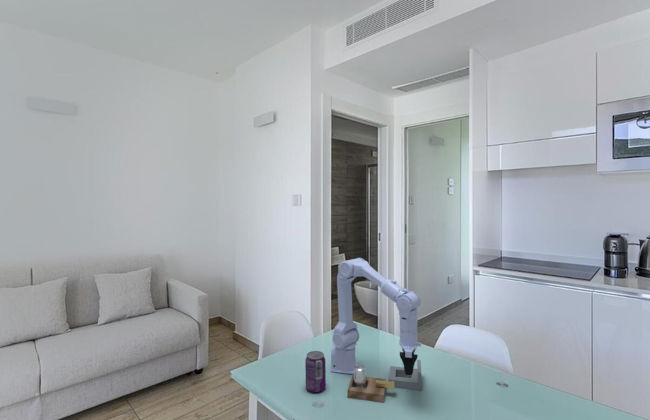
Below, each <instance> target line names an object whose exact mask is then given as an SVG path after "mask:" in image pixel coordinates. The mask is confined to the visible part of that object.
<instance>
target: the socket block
mask: <svg viewBox="0 0 650 420" xmlns="http://www.w3.org/2000/svg"><path fill="white" fill-rule="evenodd" d="M351 375H352V376H351V379H350V382H349V385H348V386H347V387H348V388H347V398H349V399H356V400H362V401H363V400H364V401H369V402H378V403H384V402H385V396H386V389H387V388H385V387H377V386H376V380H382V381H387V379H386V378H378V377H372V376H366V389H364V388H356V387H354V374H351Z"/></svg>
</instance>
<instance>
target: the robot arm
mask: <svg viewBox="0 0 650 420" xmlns="http://www.w3.org/2000/svg"><path fill="white" fill-rule="evenodd" d="M337 266H338V267H337V268H338V270H337V271H338V272H337V276H336V285H337V287H336V288H337V306H338V307H337V308H338V310H337V311H338V322H337V323H336V325H335V327H334V328H333V331H334V332H333V335H332V342H333V345H332V346H331V352H330V372H331V373H338V374H339V373H340V374H348V375H354V367H355V366H357V365H359V364H358V363H357V361H356V359H357V358H356V346H357V342H358V341H359V340H360V333H359V330H358V325H357V323H356V322H354V321H353V319H354V318H353V317H354V316H353V297H352V295H353V293H352V291H353V290H352V281H354V279H356V278H357V277H364V278H365V279H367V280H369V281H370V282H372V283H374V284H375V285H376V286H378V287H379V288H380V292H381V293H382V294H383V295H385V296H386V297H387V298H389V299H390V300H391V301H392V302H393V303H395V306H396V308H397V310H398V315H399V341H398V344H399V346H400V347H401V349H402V351H399V357H400V360H401V362H402V364H403V365H402V366H403V367H404V370H405V374H406V375H412V374H413V369H415V364H416V362H417V360H418V356H419V355H418V354H415V351H416V350H417V347H422V342H421V341H418V308H419V307H420V305H421V297H420V296H419V294H418V293H416V292H415V291H413V290H408V289H407V288H404V287H403V286H401V285H400V284H398V283H397V282H398V281H397V280H395V279H392V278H390V279H386V278H385V277H384V276H383V275H381V274H380V273H379V272H378V271H377V270H375V269H374V268H373V267H372V266H371V265H370V264H369V262H368V261H366V260H365V259H364V258H362V257H356V258H352V259H349V260H348V259H347V260H343V261H341V262H340V263H339V264H338V265H337Z"/></svg>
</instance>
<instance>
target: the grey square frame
mask: <svg viewBox="0 0 650 420" xmlns="http://www.w3.org/2000/svg"><path fill="white" fill-rule="evenodd" d="M416 364H417V366H416V367H417V368H413V374H412V375H406V374H405V370H404V366H402V367H401V366H393V365H391V366H390V367H389V375H388V381H390V382H391V381H395V386H394V388H399V389H405V390H406V389H407V390H414V391H423V390H422V388H423V387H422V385H423V384H422V383H423V381H422V378H423V377H422V362H421V359H417V360H416Z"/></svg>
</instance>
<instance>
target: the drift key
mask: <svg viewBox="0 0 650 420" xmlns="http://www.w3.org/2000/svg"><path fill="white" fill-rule="evenodd" d="M376 386H377V387H385V388H386V389H390V390H395V387H394V386H395V381H391V382H390V381H389V380H386V381H382V380H376Z"/></svg>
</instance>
